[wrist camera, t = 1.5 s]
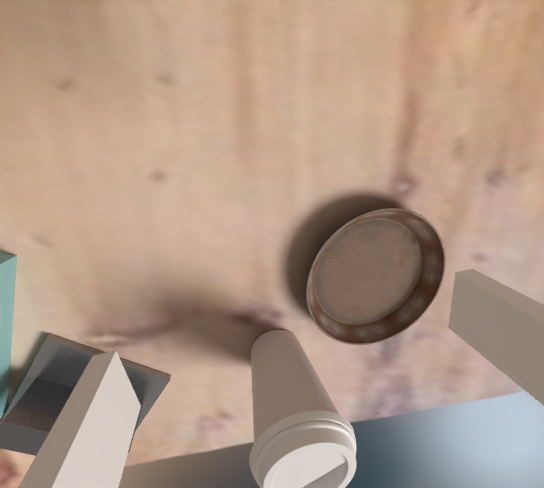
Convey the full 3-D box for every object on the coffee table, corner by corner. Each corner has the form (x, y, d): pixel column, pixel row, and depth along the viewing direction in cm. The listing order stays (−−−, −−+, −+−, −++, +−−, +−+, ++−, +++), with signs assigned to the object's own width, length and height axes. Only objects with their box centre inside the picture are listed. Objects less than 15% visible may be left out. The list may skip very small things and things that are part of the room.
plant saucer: (437, 193, 33) (457, 198, 30) (423, 316, 40) (438, 330, 37) (293, 214, 31) (301, 222, 28) (303, 342, 37) (310, 358, 34)
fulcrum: (1, 422, 33) (-43, 480, 27) (49, 333, 30) (12, 376, 25) (120, 450, 37) (103, 504, 32) (170, 375, 35) (161, 419, 29)
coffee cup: (245, 386, 38) (262, 528, 24) (232, 329, 34) (242, 456, 20) (313, 368, 39) (366, 494, 25) (306, 311, 35) (364, 420, 21)
